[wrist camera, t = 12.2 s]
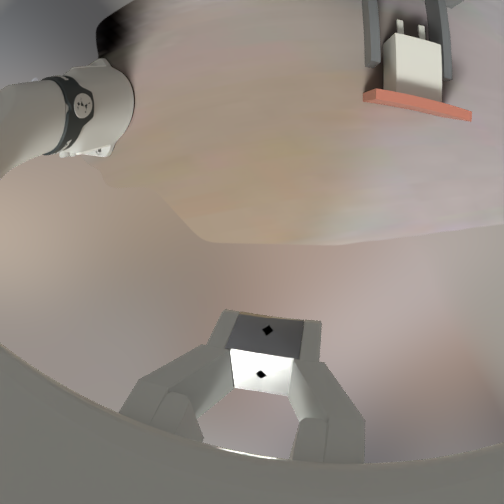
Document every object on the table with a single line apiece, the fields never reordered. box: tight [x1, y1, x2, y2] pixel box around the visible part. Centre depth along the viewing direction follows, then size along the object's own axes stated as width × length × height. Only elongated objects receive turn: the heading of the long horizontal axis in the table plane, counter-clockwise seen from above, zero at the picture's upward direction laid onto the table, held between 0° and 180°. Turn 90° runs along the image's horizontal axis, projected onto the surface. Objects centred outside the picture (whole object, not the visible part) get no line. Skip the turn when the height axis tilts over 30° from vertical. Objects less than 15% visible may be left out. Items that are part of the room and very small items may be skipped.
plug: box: [363, 20, 472, 122], centre depth 24 cm, size 12×12×10 cm
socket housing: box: [362, 0, 464, 81], centre depth 21 cm, size 18×18×8 cm
